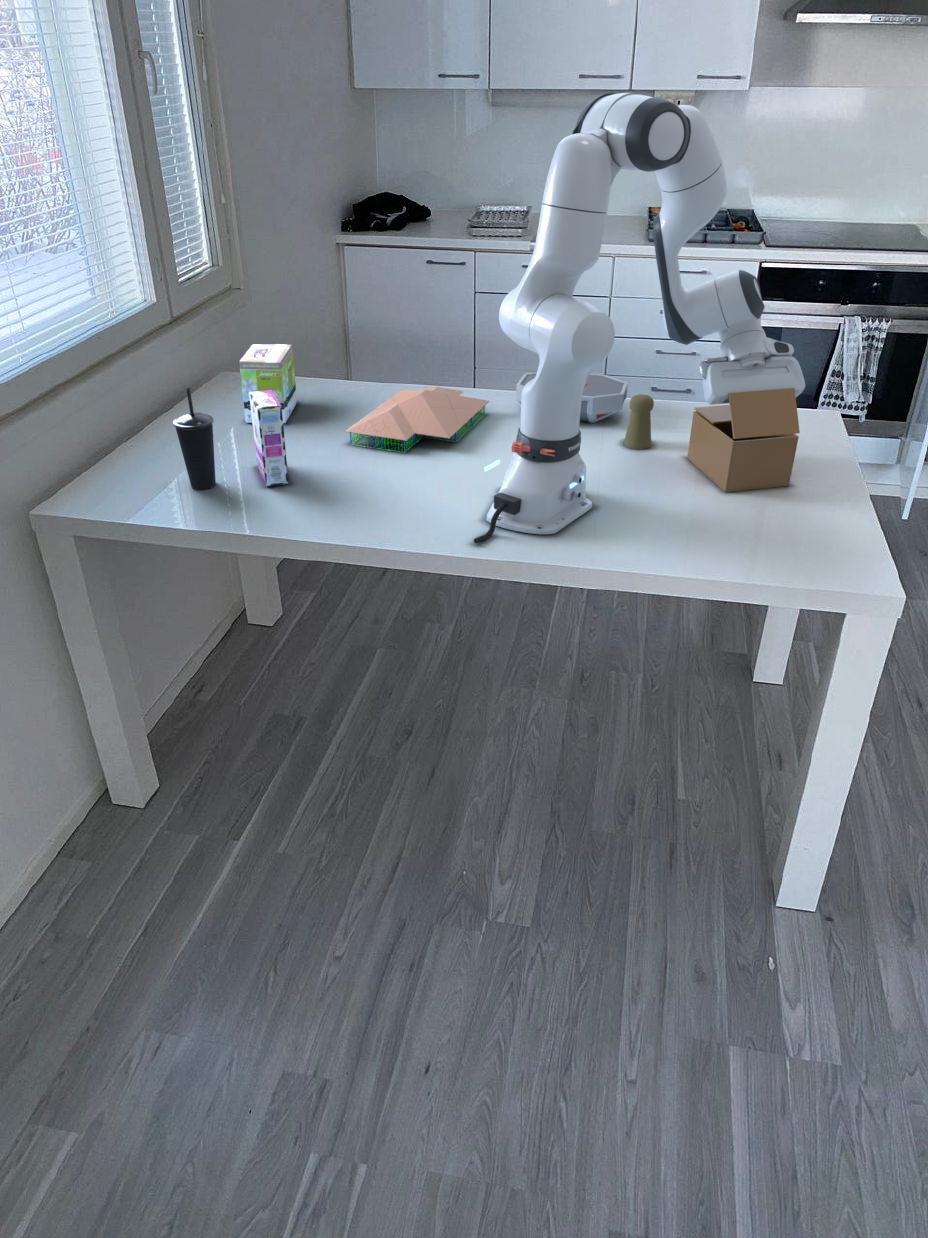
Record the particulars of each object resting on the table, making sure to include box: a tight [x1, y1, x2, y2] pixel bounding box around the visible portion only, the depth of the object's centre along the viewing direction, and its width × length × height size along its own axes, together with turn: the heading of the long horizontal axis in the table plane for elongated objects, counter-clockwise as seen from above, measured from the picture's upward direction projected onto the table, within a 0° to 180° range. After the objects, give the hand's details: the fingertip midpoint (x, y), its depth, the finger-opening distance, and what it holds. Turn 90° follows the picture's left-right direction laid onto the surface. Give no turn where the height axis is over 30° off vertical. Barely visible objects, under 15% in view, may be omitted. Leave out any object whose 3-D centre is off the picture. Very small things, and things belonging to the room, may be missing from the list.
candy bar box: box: [249, 390, 290, 487], centre depth 189 cm, size 11×5×16 cm, turn 20°
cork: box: [623, 393, 655, 450], centre depth 205 cm, size 6×6×11 cm
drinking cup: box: [172, 387, 217, 491], centre depth 183 cm, size 8×8×20 cm
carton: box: [686, 404, 800, 493], centre depth 192 cm, size 18×14×11 cm
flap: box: [728, 388, 801, 439], centre depth 182 cm, size 9×14×1 cm
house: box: [344, 386, 490, 454], centre depth 214 cm, size 23×33×8 cm
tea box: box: [239, 343, 298, 424], centre depth 221 cm, size 15×10×15 cm
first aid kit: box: [515, 371, 629, 424], centre depth 222 cm, size 18×8×25 cm
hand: (761, 419), depth 183 cm, fingers closed, pressing on flap
